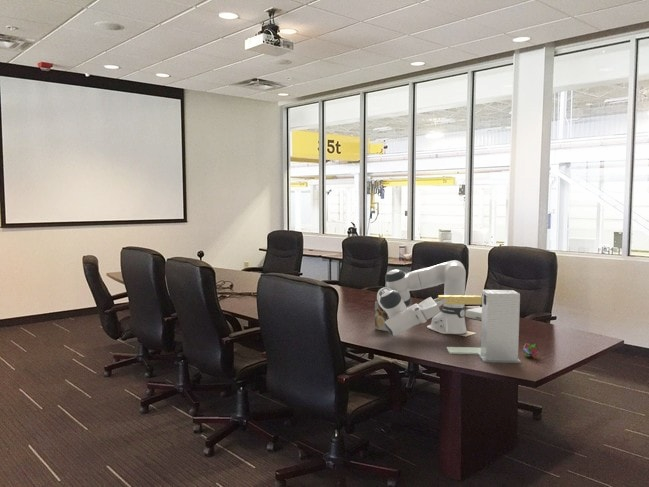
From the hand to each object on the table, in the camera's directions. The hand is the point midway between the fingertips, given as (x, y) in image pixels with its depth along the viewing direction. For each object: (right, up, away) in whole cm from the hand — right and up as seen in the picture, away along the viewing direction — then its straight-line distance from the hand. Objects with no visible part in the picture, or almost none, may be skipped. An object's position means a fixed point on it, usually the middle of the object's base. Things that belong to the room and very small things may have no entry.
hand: (444, 298), depth 238 cm
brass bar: (+7, -2, 0) cm, 7 cm away
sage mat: (+16, -27, +12) cm, 33 cm away
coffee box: (-21, -23, +56) cm, 64 cm away
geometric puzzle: (+40, -28, +3) cm, 49 cm away
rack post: (+25, -28, +1) cm, 37 cm away
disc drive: (+48, -21, +89) cm, 104 cm away
